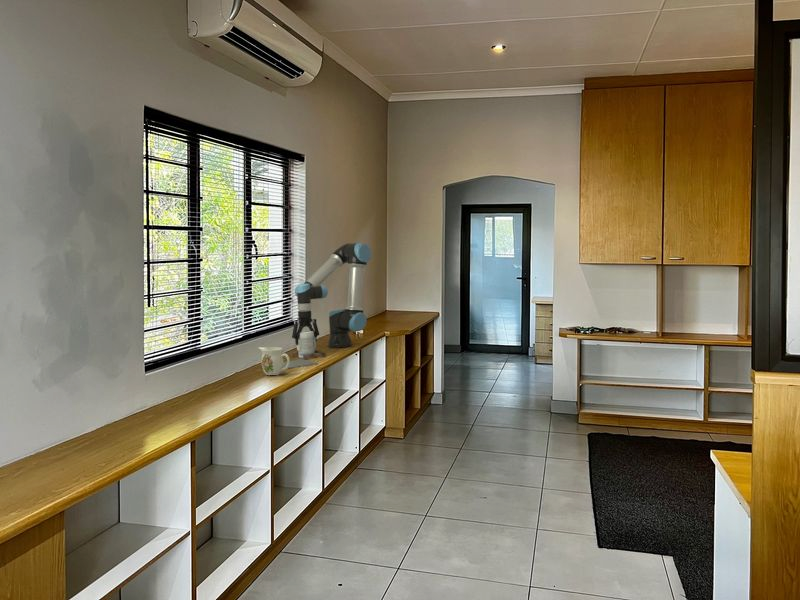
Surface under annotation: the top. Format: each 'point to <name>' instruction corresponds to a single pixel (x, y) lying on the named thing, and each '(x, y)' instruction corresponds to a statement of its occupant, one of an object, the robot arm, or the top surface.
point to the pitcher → (273, 360)
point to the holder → (310, 355)
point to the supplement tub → (306, 343)
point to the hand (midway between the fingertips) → (306, 349)
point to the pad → (299, 363)
